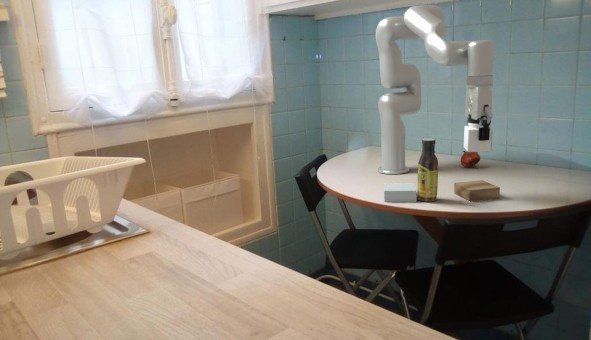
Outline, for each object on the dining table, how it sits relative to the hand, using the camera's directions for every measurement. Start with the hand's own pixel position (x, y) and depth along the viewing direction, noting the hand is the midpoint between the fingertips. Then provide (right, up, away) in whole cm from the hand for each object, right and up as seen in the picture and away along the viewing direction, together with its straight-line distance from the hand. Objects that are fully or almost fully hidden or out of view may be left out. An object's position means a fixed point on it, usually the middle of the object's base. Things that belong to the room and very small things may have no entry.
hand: (477, 137), depth 149 cm
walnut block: (+1, -19, +4) cm, 19 cm away
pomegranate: (+13, -9, +43) cm, 46 cm away
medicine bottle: (0, -4, +1) cm, 4 cm away
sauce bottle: (-15, -20, +3) cm, 25 cm away
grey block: (-23, -20, +8) cm, 31 cm away
